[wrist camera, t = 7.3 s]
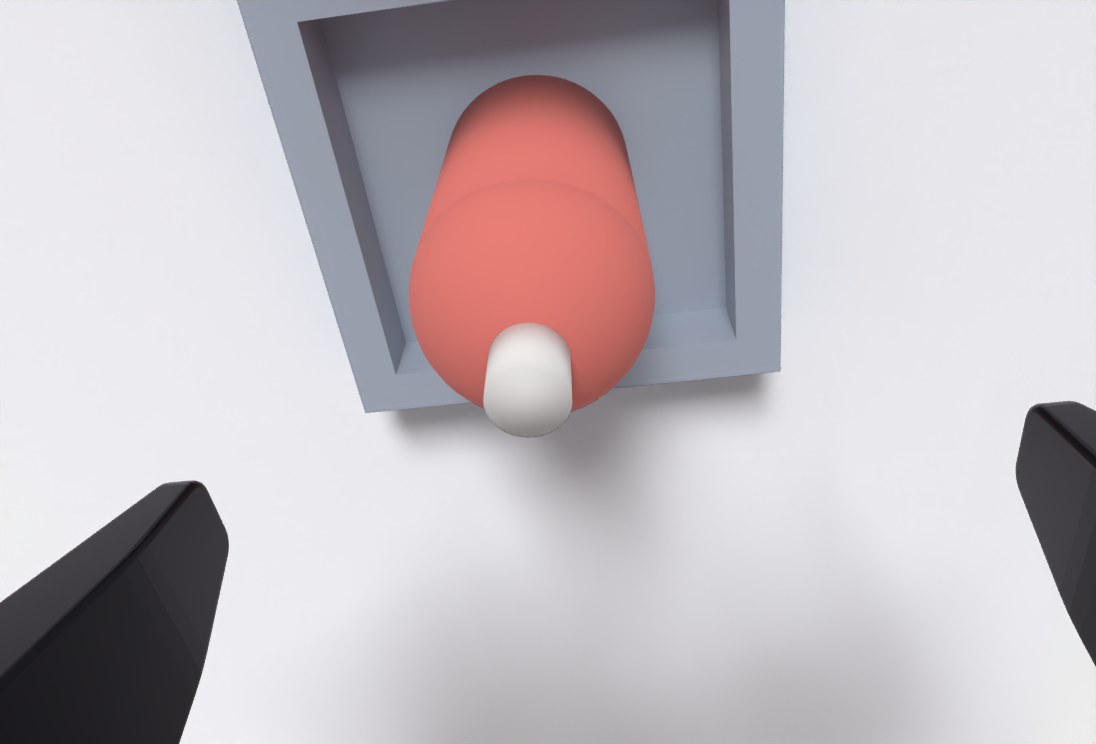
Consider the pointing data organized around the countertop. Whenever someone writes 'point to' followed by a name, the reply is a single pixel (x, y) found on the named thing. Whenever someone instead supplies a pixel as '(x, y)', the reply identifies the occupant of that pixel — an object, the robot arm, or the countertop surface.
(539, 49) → the tray
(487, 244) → the red rounded cylinder
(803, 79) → the countertop surface
